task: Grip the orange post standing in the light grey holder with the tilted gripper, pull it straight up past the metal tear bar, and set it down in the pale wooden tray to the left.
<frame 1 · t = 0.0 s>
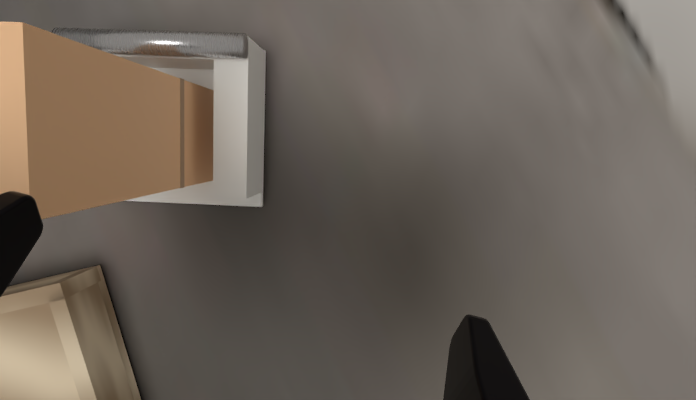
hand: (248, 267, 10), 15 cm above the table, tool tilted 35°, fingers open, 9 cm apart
dispenser: (187, 134, 24), on the table
orange post: (184, 134, 24), resting on dispenser
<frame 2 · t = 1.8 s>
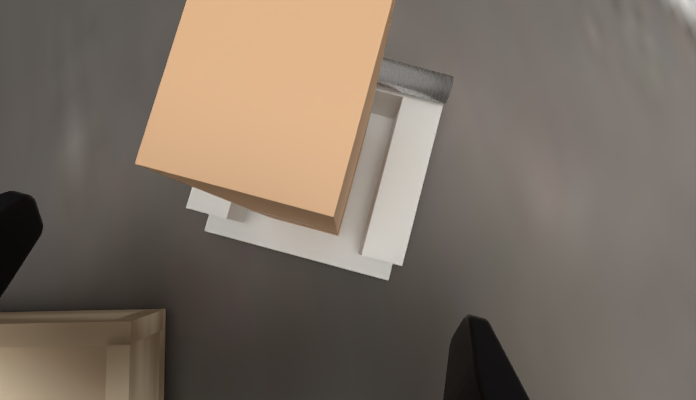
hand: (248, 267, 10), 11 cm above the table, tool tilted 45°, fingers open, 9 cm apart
dispenser: (318, 177, 20), on the table
orange post: (318, 175, 20), resting on dispenser
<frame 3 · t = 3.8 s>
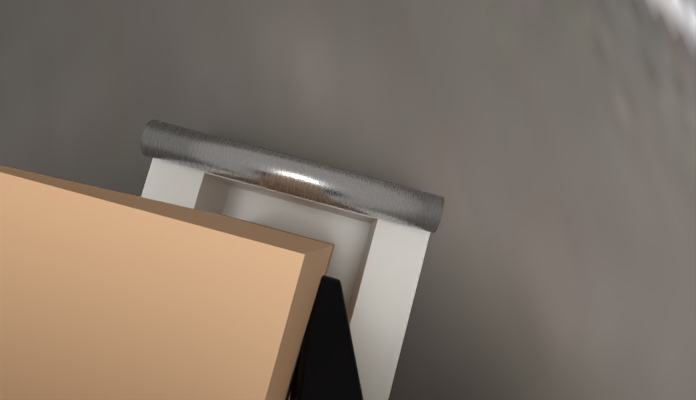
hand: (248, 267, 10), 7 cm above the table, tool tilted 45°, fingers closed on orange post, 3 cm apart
dispenser: (276, 296, 16), on the table
orange post: (274, 297, 16), resting on dispenser, touching gripper
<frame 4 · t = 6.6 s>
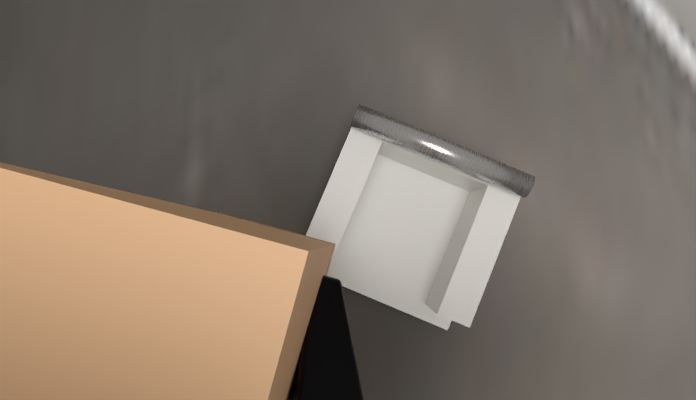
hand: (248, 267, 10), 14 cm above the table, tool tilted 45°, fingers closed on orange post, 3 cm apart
dispenser: (398, 232, 24), on the table
orange post: (275, 297, 16), point 8 cm above the table, touching gripper
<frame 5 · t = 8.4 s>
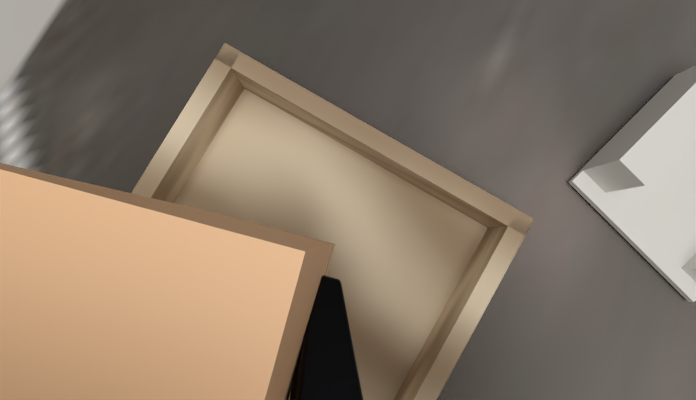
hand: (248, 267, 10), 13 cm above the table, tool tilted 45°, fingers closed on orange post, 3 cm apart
tray: (294, 279, 22), on the table
dispenser: (675, 191, 23), on the table
orange post: (274, 297, 16), point 7 cm above the table, touching gripper
when the fingers open (8 cm above the table, at t = 9.6 s): orange post drops 1 cm, resting on tray.
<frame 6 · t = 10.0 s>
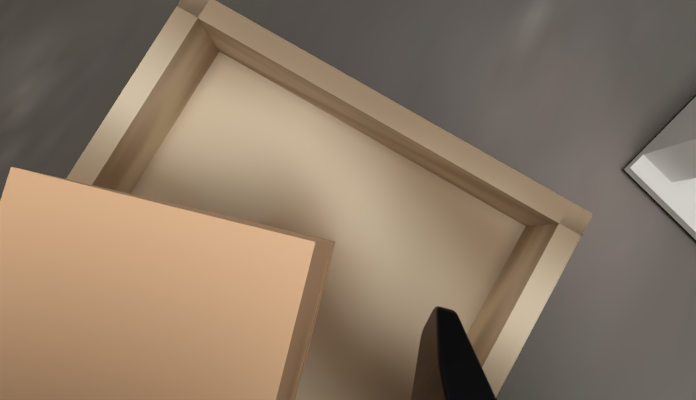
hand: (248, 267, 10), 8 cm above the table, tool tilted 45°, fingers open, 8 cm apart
tray: (282, 291, 18), on the table
orange post: (280, 291, 17), point 1 cm above the table, touching tray
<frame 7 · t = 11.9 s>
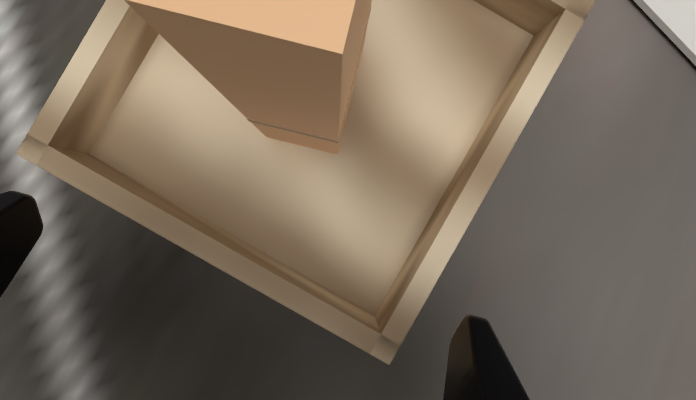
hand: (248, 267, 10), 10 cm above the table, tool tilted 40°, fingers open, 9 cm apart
tray: (314, 97, 20), on the table
orange post: (314, 92, 19), point 1 cm above the table, touching tray
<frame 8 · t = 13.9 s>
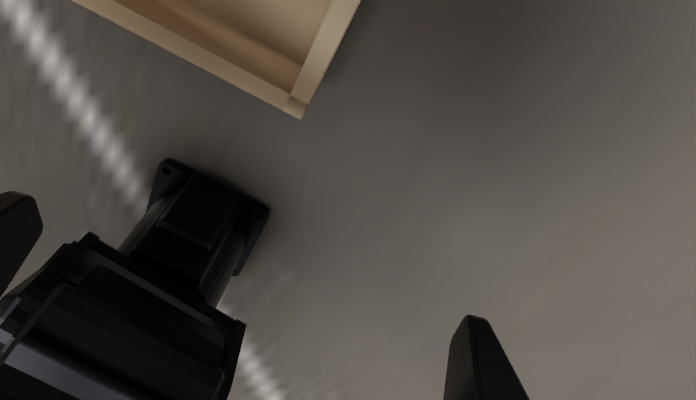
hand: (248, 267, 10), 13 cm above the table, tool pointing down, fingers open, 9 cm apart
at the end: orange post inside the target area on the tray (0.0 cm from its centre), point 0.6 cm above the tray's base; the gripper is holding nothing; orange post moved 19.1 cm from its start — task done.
